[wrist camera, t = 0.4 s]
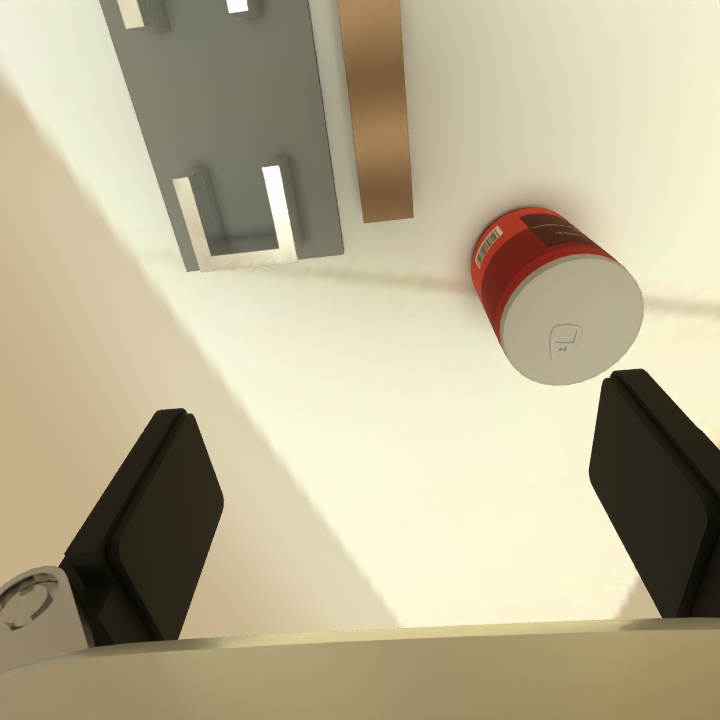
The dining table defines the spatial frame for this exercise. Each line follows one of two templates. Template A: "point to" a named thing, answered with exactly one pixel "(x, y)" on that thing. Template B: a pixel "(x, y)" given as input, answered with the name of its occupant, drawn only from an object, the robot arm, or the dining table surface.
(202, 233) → the endcap
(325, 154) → the mat
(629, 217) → the dining table surface
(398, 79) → the slat
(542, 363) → the canned food
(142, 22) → the endcap
